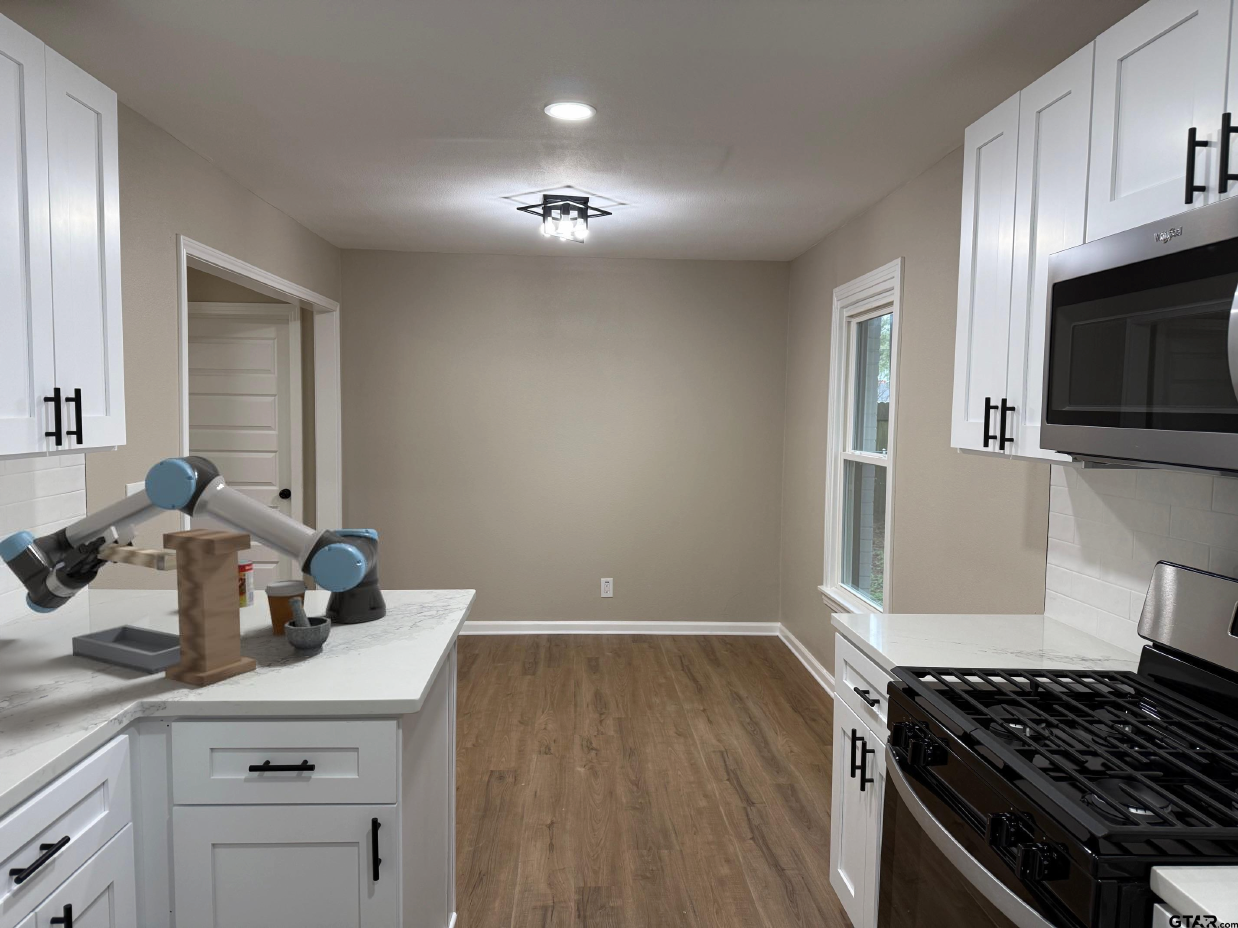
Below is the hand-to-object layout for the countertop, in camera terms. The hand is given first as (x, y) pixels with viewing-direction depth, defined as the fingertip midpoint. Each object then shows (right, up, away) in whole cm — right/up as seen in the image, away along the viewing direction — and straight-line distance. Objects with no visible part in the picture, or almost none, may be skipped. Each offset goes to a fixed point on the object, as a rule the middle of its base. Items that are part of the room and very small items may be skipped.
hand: (124, 530), depth 177 cm
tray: (+3, -28, 0) cm, 28 cm away
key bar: (+4, -7, -1) cm, 8 cm away
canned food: (+3, -25, +47) cm, 53 cm away
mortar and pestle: (+38, -28, +4) cm, 48 cm away
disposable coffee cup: (+28, -27, +20) cm, 43 cm away
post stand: (+24, -29, -10) cm, 39 cm away
